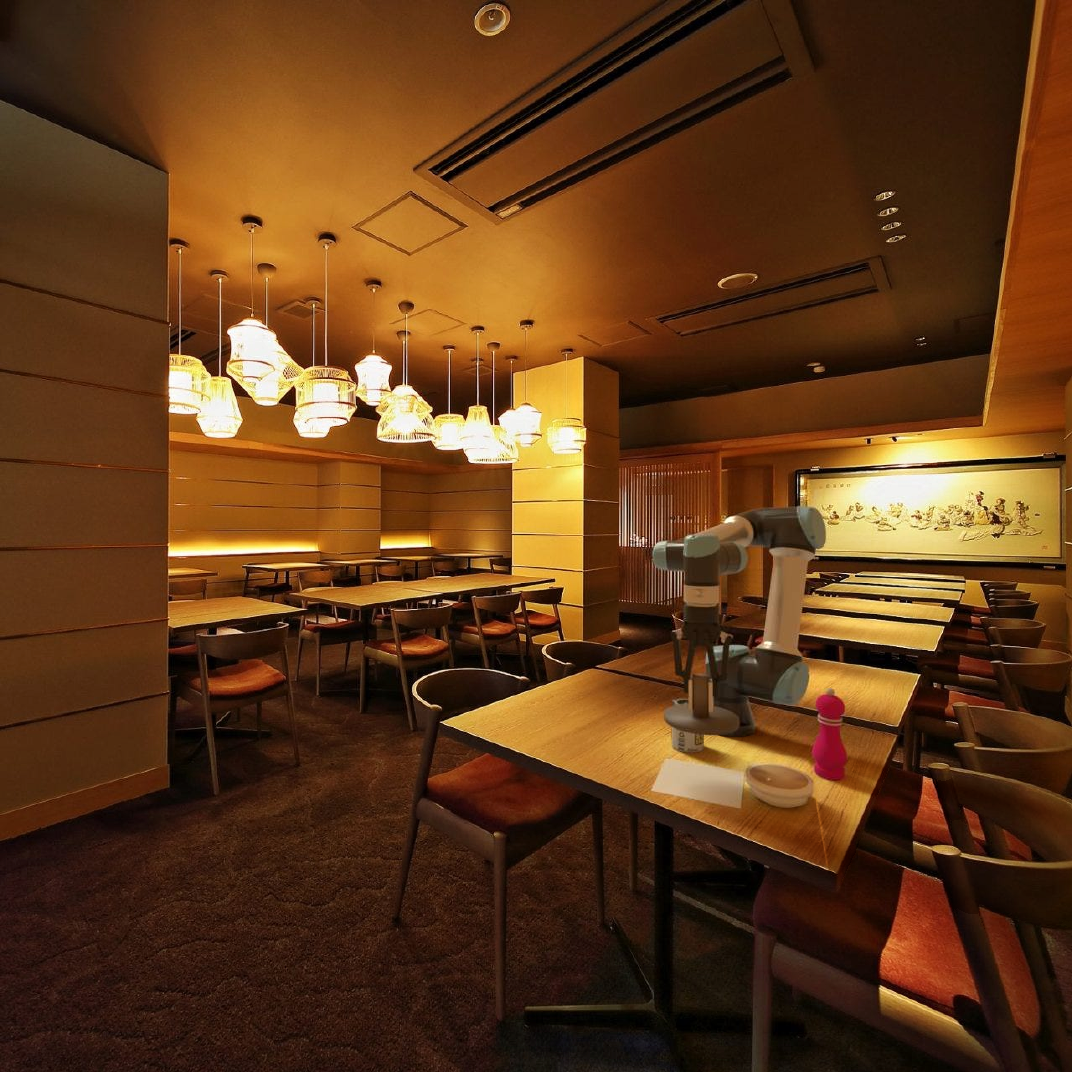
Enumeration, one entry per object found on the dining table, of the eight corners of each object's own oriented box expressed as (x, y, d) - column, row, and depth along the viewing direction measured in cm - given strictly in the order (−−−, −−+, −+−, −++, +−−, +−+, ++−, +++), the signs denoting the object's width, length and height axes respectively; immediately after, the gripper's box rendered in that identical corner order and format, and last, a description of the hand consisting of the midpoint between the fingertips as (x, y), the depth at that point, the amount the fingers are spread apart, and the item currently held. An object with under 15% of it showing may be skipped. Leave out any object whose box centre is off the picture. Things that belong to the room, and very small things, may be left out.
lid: (670, 705, 130) (670, 663, 130) (741, 714, 124) (741, 670, 124) (658, 728, 116) (658, 681, 116) (737, 739, 109) (737, 690, 109)
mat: (665, 760, 132) (665, 758, 132) (744, 774, 125) (744, 771, 125) (650, 793, 115) (650, 790, 115) (740, 811, 108) (740, 808, 108)
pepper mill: (835, 767, 128) (836, 683, 128) (854, 781, 121) (855, 693, 121) (805, 767, 128) (806, 683, 128) (822, 781, 121) (823, 693, 121)
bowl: (746, 781, 121) (746, 758, 121) (811, 792, 116) (811, 769, 116) (743, 808, 109) (744, 783, 109) (815, 822, 104) (816, 796, 104)
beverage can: (680, 738, 146) (680, 694, 145) (711, 746, 140) (711, 700, 140) (665, 749, 138) (665, 703, 138) (696, 758, 133) (697, 710, 133)
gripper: (660, 604, 119) (660, 709, 120) (740, 608, 113) (740, 719, 113) (666, 599, 126) (666, 699, 127) (742, 603, 119) (741, 708, 120)
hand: (701, 708), depth 120 cm, fingers closed on lid, 3 cm apart
